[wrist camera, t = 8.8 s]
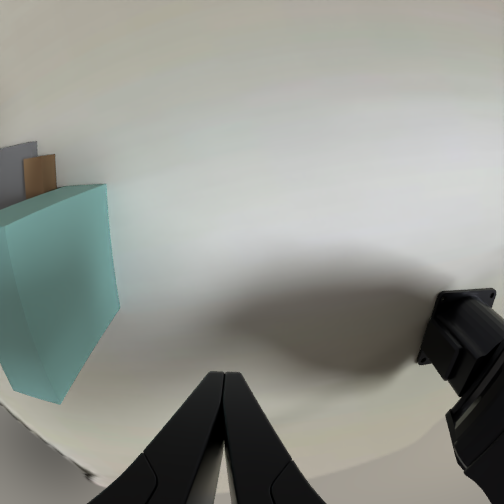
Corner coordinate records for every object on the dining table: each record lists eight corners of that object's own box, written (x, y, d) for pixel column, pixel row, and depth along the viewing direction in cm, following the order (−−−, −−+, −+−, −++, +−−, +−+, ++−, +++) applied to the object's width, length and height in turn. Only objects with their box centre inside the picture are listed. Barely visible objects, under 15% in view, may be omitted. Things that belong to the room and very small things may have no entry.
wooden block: (54, 154, 15) (41, 156, 14) (80, 327, 19) (72, 339, 18) (37, 156, 15) (23, 159, 14) (64, 325, 19) (55, 336, 18)
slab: (106, 183, 16) (4, 226, 8) (120, 307, 19) (60, 404, 11) (64, 186, 16) (-41, 228, 8) (81, 304, 19) (13, 390, 10)
